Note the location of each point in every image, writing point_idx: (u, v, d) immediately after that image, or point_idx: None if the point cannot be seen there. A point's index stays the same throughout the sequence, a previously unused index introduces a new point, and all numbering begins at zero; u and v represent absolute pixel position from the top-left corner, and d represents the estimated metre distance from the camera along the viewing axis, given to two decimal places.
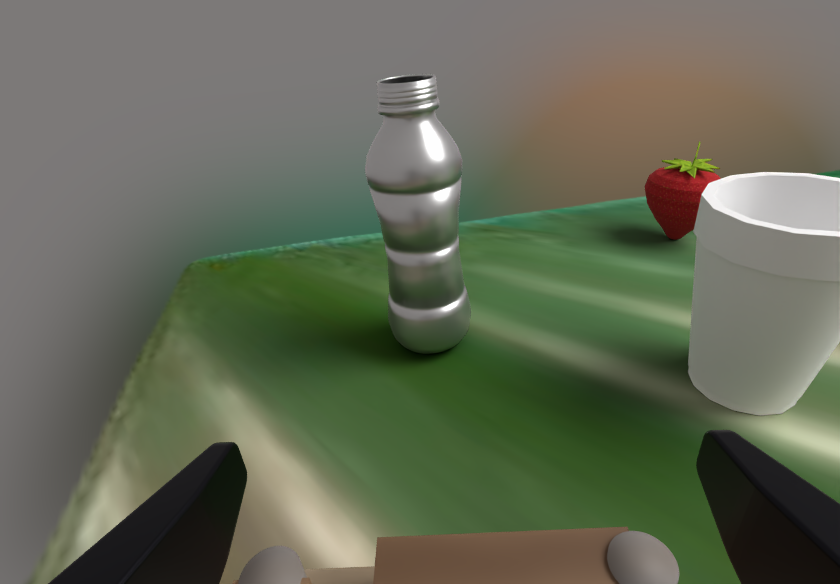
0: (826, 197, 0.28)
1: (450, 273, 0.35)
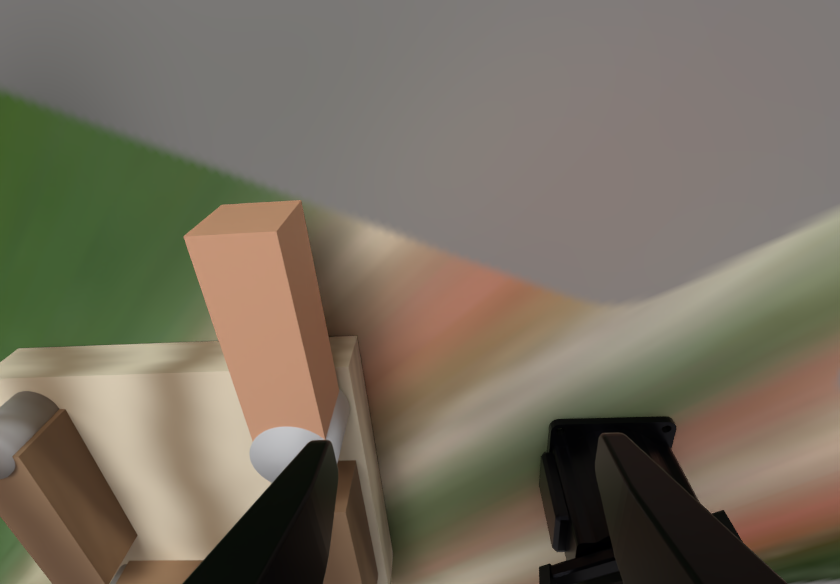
0: None
1: None
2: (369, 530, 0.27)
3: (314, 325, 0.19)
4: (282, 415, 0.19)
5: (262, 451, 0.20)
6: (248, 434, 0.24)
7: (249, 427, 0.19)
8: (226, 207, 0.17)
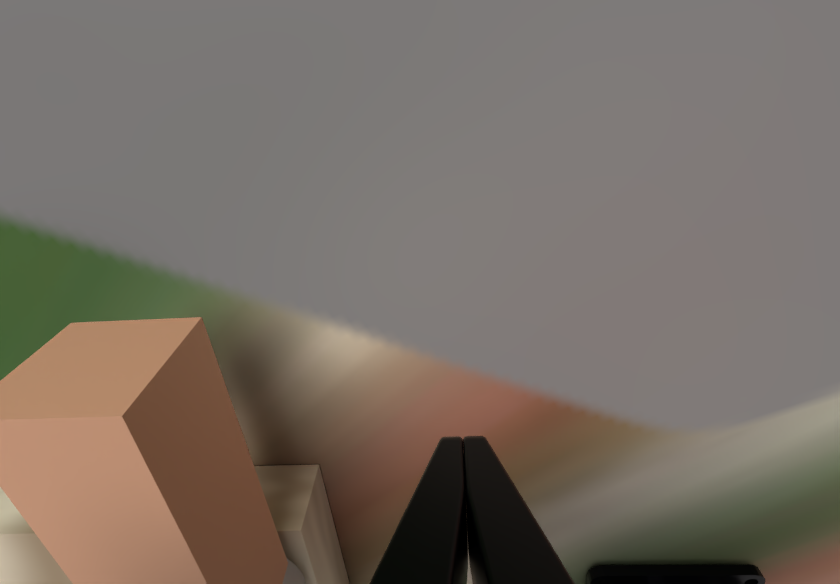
0: None
1: None
2: None
3: (233, 509, 0.11)
4: None
5: None
6: None
7: None
8: (74, 331, 0.10)
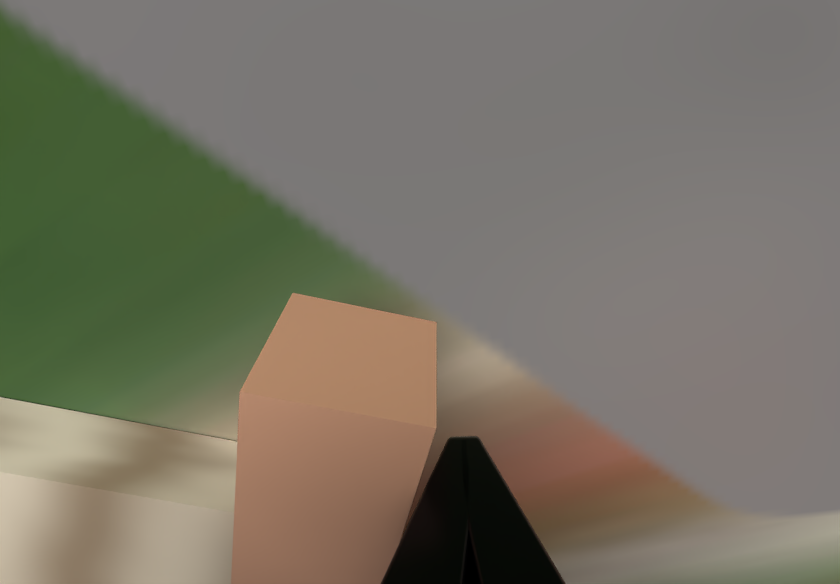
0: None
1: None
2: None
3: None
4: None
5: None
6: (196, 583, 0.16)
7: None
8: (304, 305, 0.09)
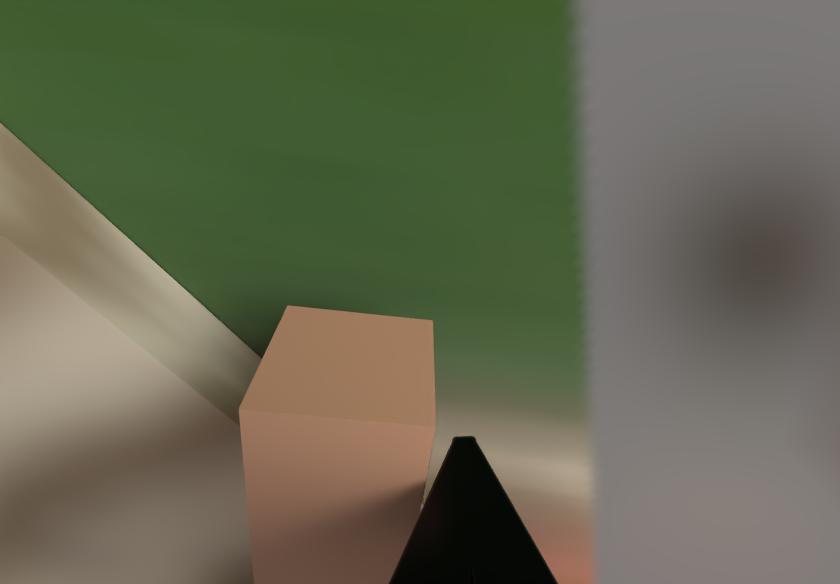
0: None
1: None
2: None
3: None
4: None
5: None
6: (211, 536, 0.14)
7: None
8: (300, 316, 0.10)
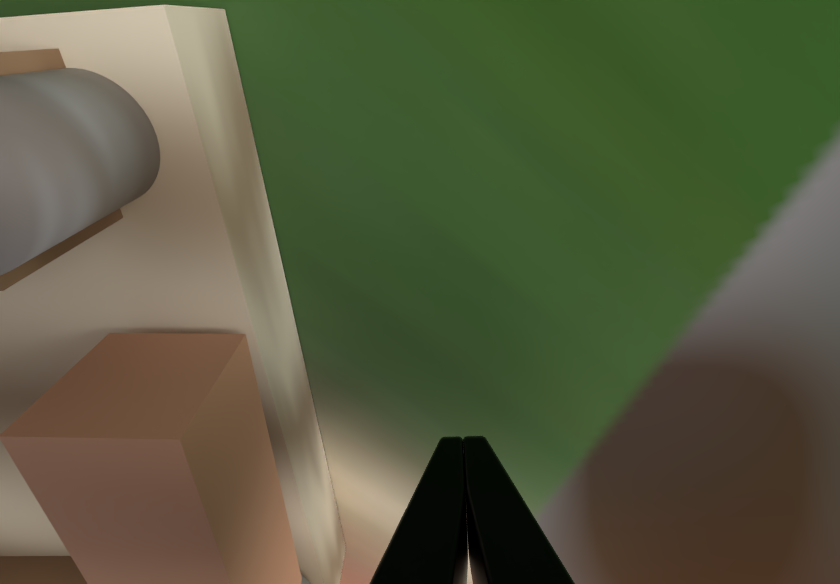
0: None
1: None
2: None
3: (261, 528, 0.11)
4: None
5: None
6: None
7: None
8: (114, 342, 0.10)
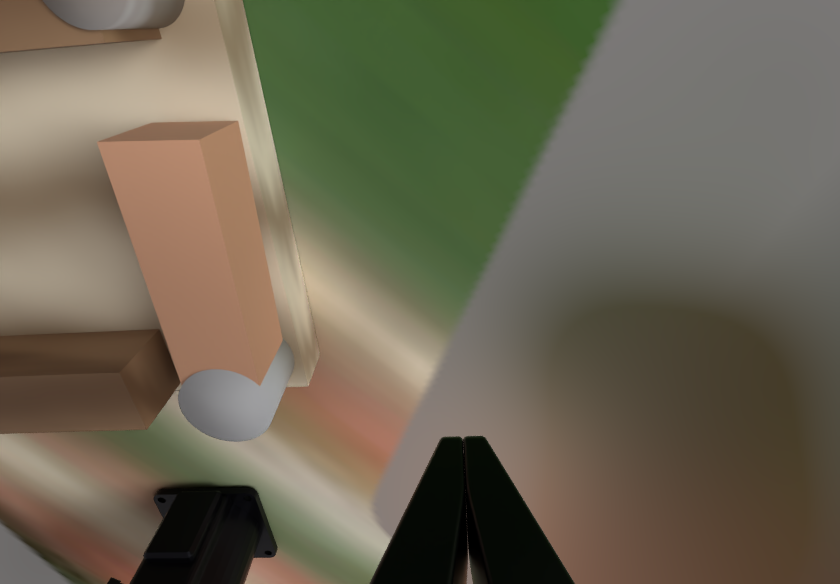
0: None
1: None
2: None
3: (251, 260, 0.17)
4: (212, 356, 0.17)
5: (192, 396, 0.18)
6: None
7: (177, 369, 0.18)
8: (155, 124, 0.16)
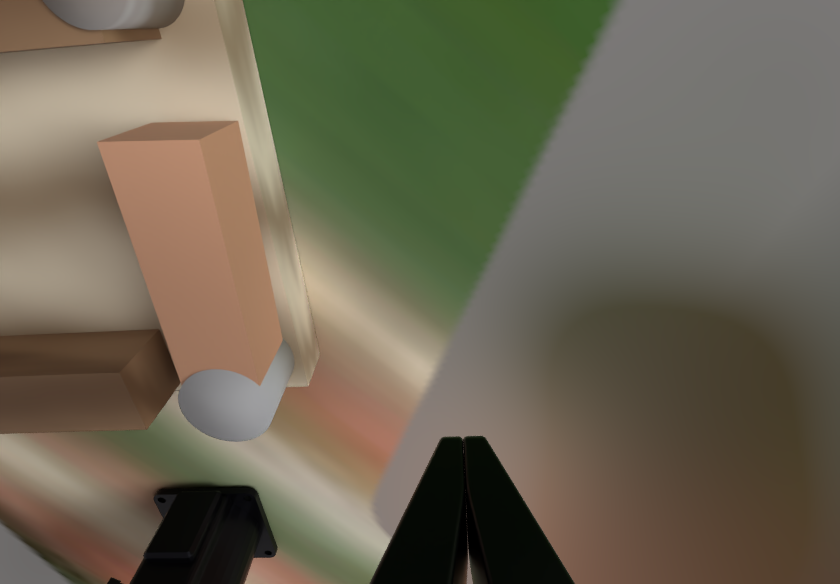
0: None
1: None
2: None
3: (251, 260, 0.17)
4: (212, 356, 0.17)
5: (192, 396, 0.18)
6: None
7: (177, 369, 0.18)
8: (155, 124, 0.16)
